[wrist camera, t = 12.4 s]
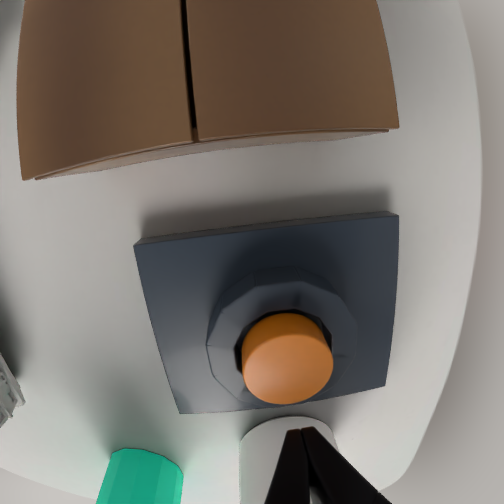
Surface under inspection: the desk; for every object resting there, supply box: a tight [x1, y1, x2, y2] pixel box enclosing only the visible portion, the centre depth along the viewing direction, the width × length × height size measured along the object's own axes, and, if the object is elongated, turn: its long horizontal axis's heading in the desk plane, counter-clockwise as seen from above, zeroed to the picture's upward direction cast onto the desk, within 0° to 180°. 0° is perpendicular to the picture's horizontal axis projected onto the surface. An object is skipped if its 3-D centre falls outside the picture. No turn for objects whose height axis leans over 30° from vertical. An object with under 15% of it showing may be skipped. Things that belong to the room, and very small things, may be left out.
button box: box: [133, 211, 399, 414], centre depth 14 cm, size 12×10×3 cm
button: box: [242, 313, 333, 404], centre depth 13 cm, size 4×4×2 cm
